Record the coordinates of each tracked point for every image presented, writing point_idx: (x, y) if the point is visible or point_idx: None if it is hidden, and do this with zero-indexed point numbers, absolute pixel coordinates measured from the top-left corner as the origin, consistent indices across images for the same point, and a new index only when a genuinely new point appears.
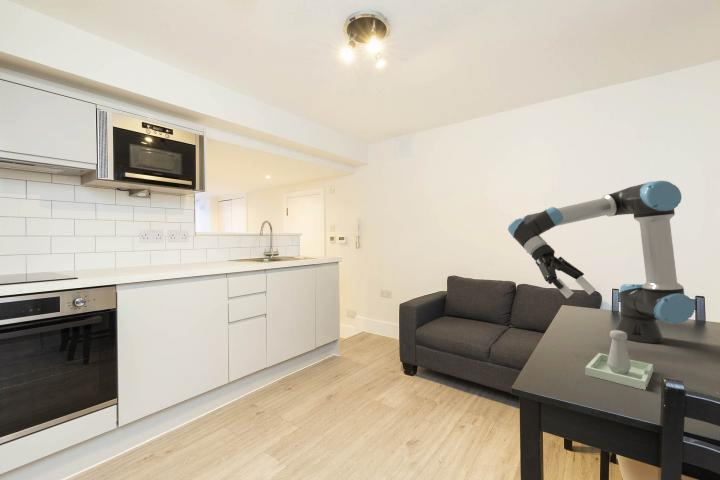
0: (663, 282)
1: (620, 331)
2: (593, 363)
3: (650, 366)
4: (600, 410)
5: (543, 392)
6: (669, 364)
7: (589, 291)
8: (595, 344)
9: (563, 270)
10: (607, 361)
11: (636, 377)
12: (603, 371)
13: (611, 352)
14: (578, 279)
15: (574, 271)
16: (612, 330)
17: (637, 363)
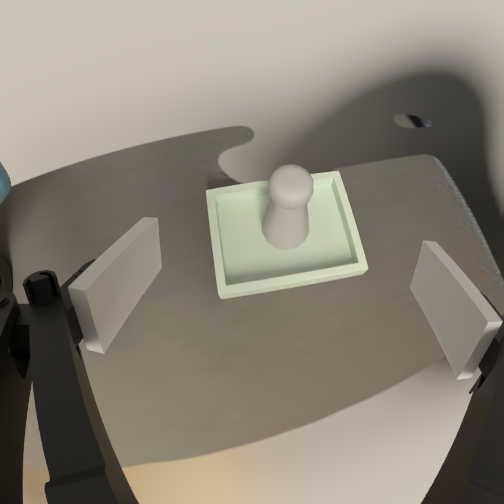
0: None
1: (291, 173)
2: (323, 269)
3: (227, 188)
4: (465, 201)
5: (491, 277)
6: (128, 197)
7: (155, 257)
8: (90, 351)
9: (121, 474)
10: (297, 244)
11: None
12: (358, 234)
13: (304, 223)
14: (102, 320)
15: (62, 347)
16: (293, 194)
17: (216, 214)
